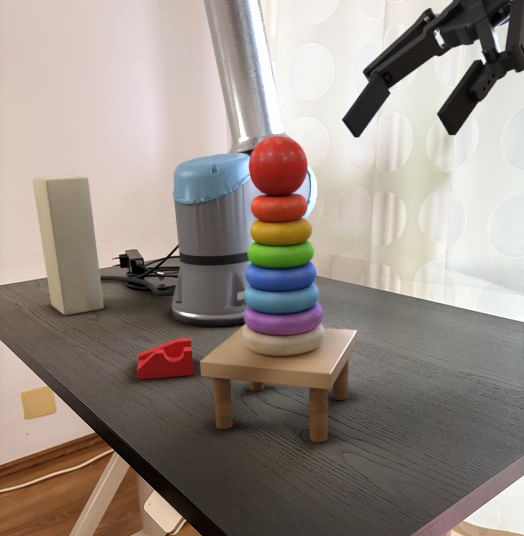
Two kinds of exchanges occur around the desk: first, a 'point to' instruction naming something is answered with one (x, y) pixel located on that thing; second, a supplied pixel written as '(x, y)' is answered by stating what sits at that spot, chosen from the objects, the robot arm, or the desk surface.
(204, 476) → the desk surface
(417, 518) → the desk surface
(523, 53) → the robot arm
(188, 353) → the red notched block
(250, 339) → the stacking toy
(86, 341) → the desk surface
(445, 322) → the desk surface
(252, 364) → the stool
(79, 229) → the white rectangular block
